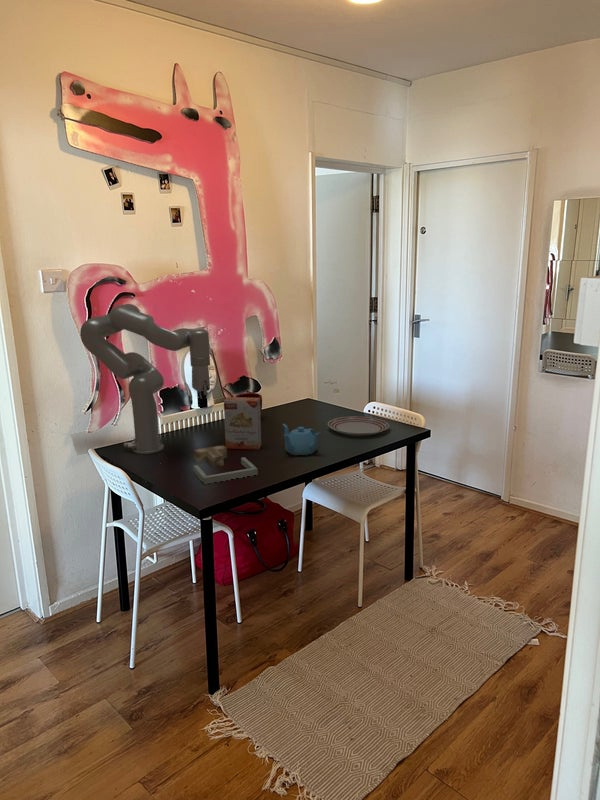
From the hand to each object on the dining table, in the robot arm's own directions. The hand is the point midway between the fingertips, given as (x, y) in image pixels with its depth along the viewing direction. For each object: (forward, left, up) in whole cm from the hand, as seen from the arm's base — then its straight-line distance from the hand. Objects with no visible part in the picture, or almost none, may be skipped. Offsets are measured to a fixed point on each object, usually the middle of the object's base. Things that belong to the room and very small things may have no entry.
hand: (202, 406), depth 239 cm
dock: (0, -26, -19) cm, 32 cm away
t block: (0, -12, -19) cm, 22 cm away
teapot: (+34, -17, -19) cm, 43 cm away
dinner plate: (+70, -2, -20) cm, 73 cm away
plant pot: (+32, +36, -19) cm, 52 cm away
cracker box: (+16, -1, -19) cm, 25 cm away
